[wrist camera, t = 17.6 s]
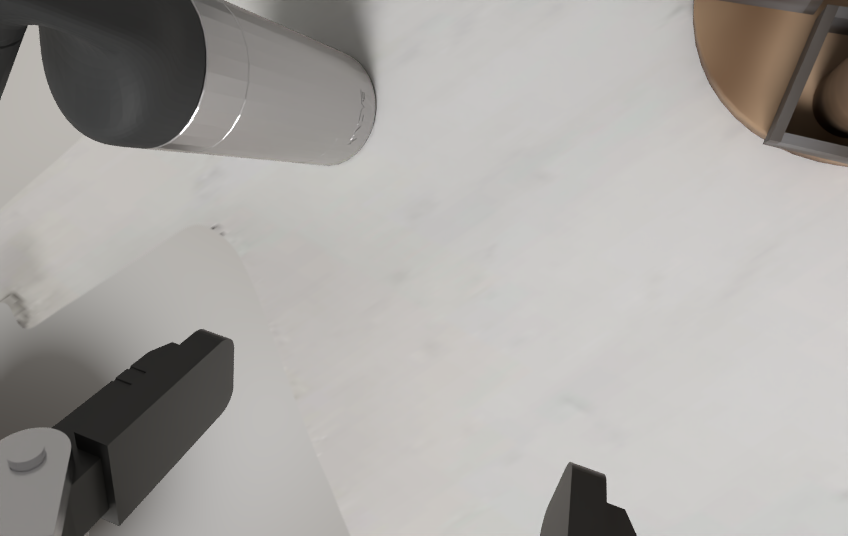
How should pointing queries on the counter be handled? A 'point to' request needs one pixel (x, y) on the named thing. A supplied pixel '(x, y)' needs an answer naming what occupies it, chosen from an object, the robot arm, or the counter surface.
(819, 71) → the stool seat
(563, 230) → the counter surface
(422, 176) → the counter surface
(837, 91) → the loose leg
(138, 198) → the counter surface
